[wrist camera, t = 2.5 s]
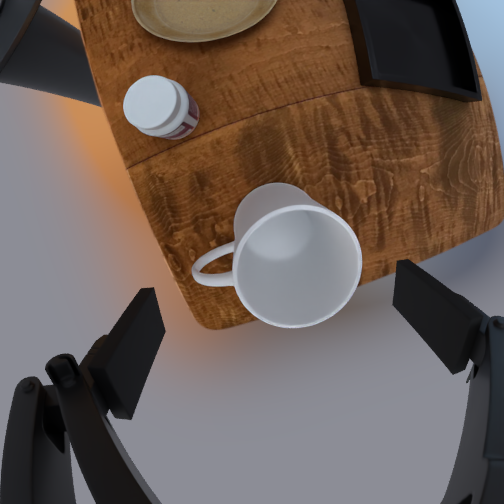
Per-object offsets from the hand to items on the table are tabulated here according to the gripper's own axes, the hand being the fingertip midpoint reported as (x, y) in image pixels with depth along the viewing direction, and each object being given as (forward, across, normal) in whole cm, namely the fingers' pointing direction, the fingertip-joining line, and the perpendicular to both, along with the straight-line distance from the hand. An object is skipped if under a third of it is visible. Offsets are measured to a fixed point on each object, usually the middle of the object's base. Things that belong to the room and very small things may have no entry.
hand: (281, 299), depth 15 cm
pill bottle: (+15, -7, +12) cm, 20 cm away
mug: (+15, 0, 0) cm, 15 cm away
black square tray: (+15, +19, +22) cm, 33 cm away
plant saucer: (+15, -3, +26) cm, 30 cm away
